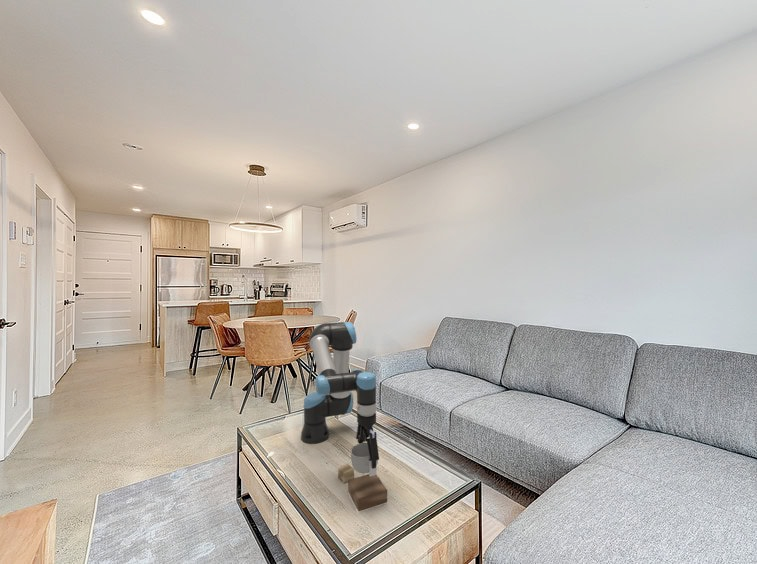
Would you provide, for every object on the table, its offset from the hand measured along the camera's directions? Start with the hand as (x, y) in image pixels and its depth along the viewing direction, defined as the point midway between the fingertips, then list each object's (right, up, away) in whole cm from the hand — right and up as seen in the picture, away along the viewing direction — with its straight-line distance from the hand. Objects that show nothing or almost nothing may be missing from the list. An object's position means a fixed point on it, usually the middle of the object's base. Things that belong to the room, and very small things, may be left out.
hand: (367, 466), depth 131 cm
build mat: (-1, -13, +2) cm, 13 cm away
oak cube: (-10, -13, +13) cm, 20 cm away
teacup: (0, 0, +1) cm, 1 cm away
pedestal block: (0, -12, +1) cm, 12 cm away
